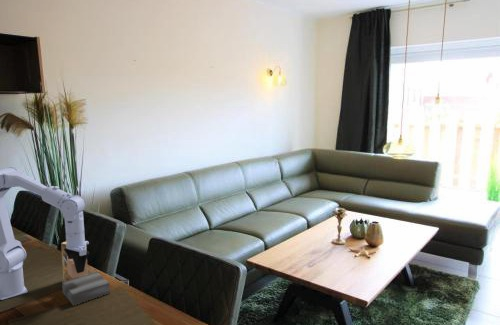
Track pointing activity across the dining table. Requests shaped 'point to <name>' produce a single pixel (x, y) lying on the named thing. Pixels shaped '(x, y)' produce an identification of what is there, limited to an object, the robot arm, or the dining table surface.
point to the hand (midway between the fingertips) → (77, 269)
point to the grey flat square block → (85, 288)
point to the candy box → (64, 263)
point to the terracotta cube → (72, 269)
